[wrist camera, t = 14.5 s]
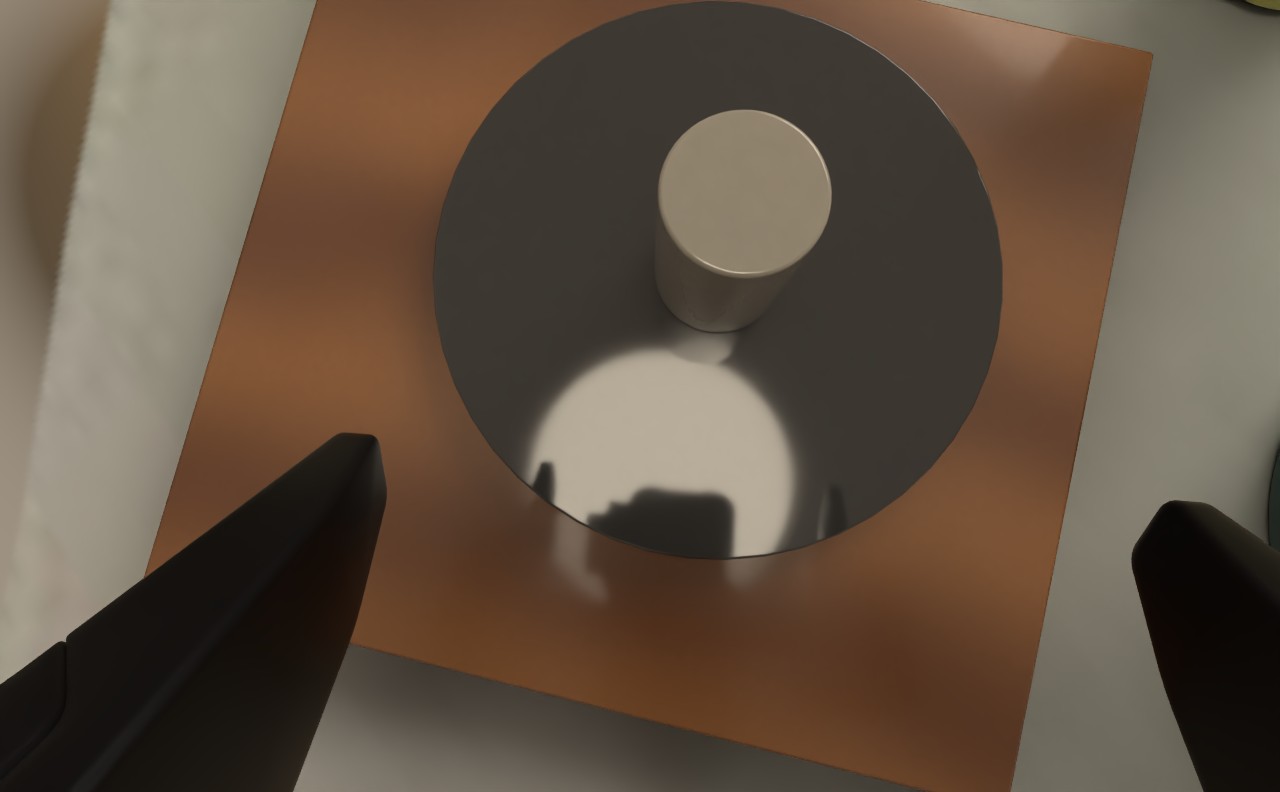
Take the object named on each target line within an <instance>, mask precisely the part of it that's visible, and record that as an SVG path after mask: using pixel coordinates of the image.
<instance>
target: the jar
mask: <svg viewBox="0 0 1280 792" xmlns="http://www.w3.org/2000/svg"><path fill="white" fill-rule="evenodd" d="M1269 534H1270V544H1271V547H1272V548H1274V549H1275V550H1277V551H1278V552H1280V449H1279V452H1278V456H1277V460H1276V464H1275V469H1274V473H1273V477H1272V482H1271V492H1270V502H1269Z"/></svg>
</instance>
